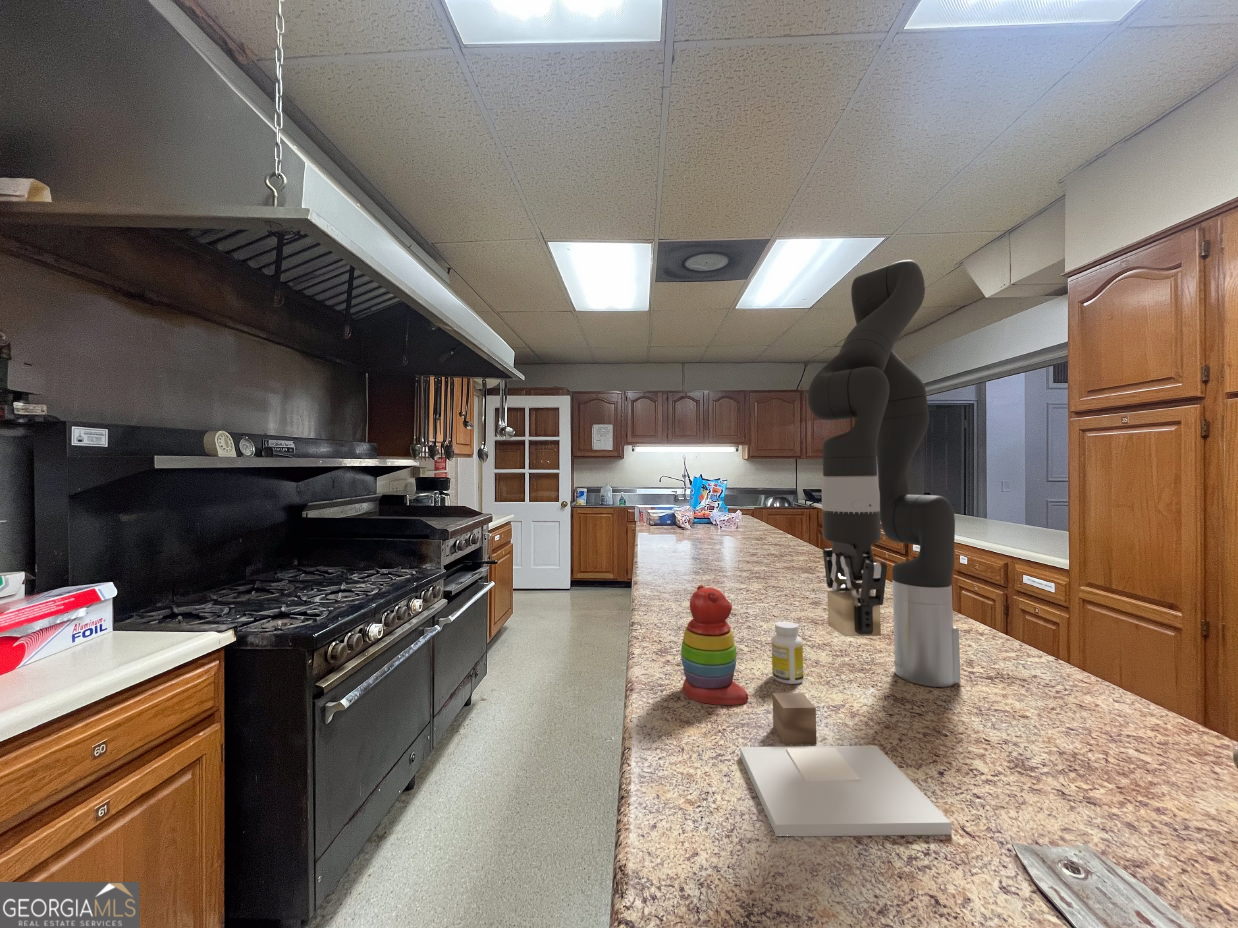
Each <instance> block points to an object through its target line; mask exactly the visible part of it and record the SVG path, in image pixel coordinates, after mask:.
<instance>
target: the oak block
mask: <svg viewBox="0 0 1238 928" xmlns="http://www.w3.org/2000/svg"><path fill="white" fill-rule="evenodd" d="M859 593H860V597H861V590H859ZM854 606H855V605H854V601H853V595H852V591H832V590H829V591H827V623H828V626H829V627H830V628H832V629H834V631H836V632H837V633H839V634H840V635H842V636H843V637H881V636H882V632H881V631H882V630H881V629H882V627H881V623H882V622H881V605H877V606H875V607H873V633H872V634H862V635H861V634H858V633H857V632H855V620H854Z"/></svg>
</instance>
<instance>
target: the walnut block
mask: <svg viewBox="0 0 1238 928" xmlns="http://www.w3.org/2000/svg"><path fill="white" fill-rule="evenodd" d="M771 696H772V727H773V729H774V732H775V733H776V735H777V736H778V737H779V739H780V741H781V743H783V745H817V707H816V706H815V705H814V704H813V703H812V701H811V700H810V699H809V698H808V697H807V696H806V695H805V693H803V692H788V693H787V692H781V693H779V692H775V693H772V695H771Z"/></svg>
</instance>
